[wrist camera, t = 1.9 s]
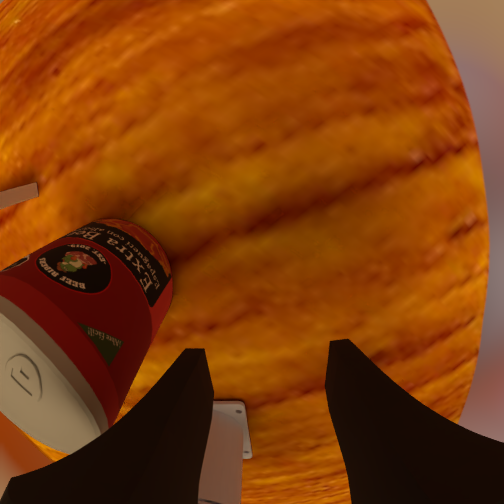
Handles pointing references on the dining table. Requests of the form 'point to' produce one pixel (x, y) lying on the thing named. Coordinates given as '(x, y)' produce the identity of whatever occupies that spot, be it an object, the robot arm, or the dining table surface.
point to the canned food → (79, 329)
